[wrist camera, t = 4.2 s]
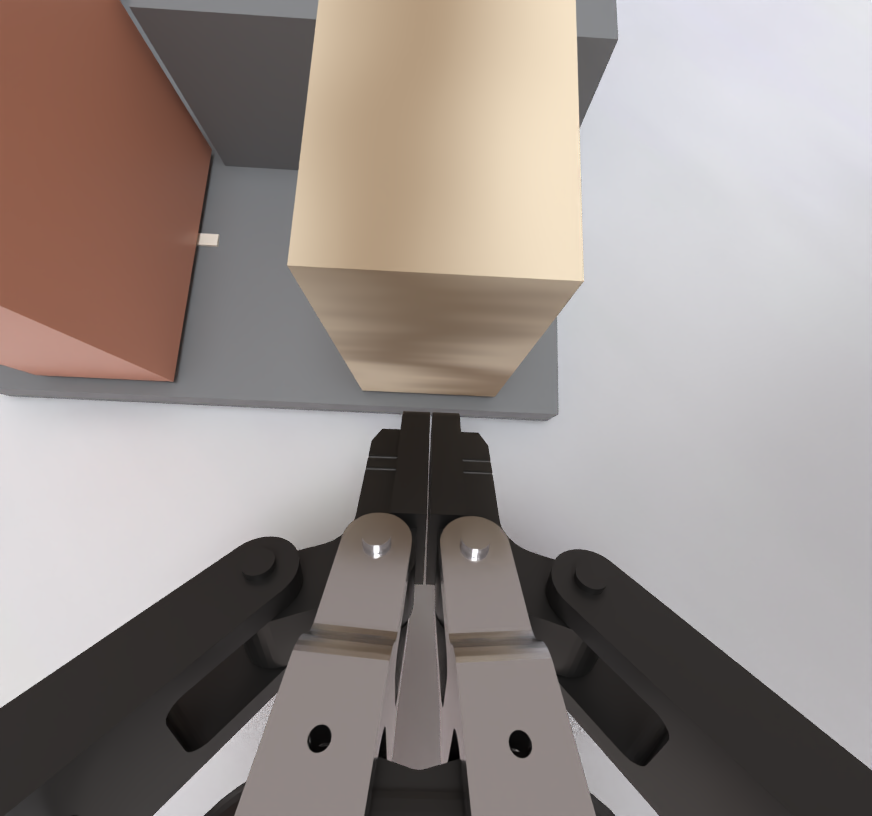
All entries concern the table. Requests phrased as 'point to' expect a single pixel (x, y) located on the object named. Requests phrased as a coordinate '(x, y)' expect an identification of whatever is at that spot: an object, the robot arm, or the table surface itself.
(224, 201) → the grey slotted tray
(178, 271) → the terracotta plug
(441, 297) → the ash plug
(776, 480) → the table surface
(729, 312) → the table surface
